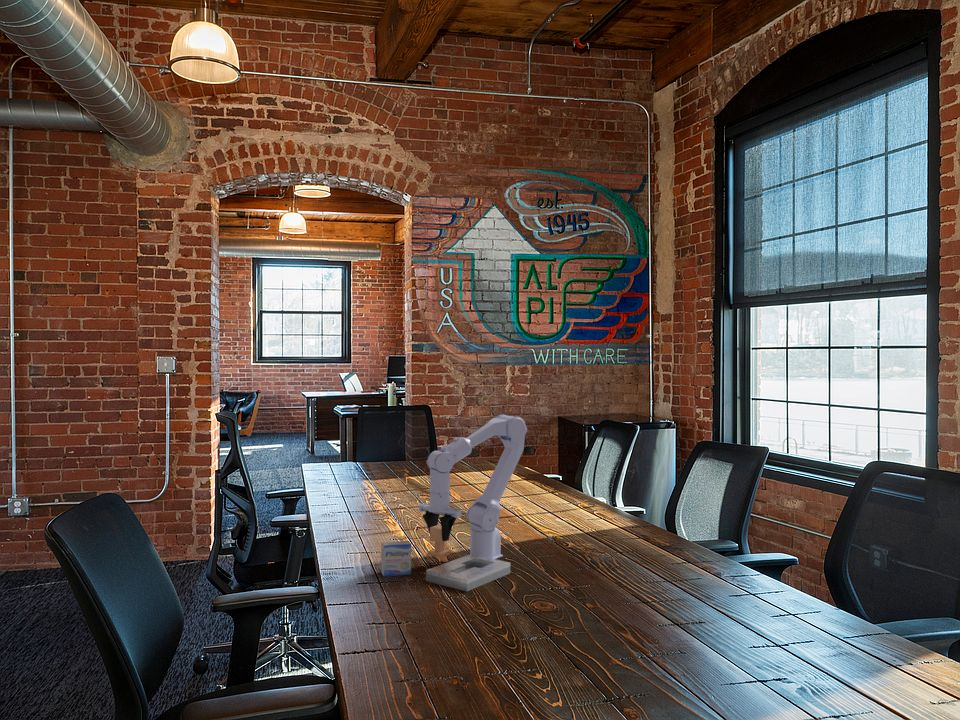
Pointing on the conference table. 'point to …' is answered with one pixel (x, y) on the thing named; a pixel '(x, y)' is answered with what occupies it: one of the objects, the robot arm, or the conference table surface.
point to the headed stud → (438, 542)
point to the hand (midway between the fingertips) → (439, 539)
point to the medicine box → (396, 558)
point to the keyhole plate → (468, 572)
